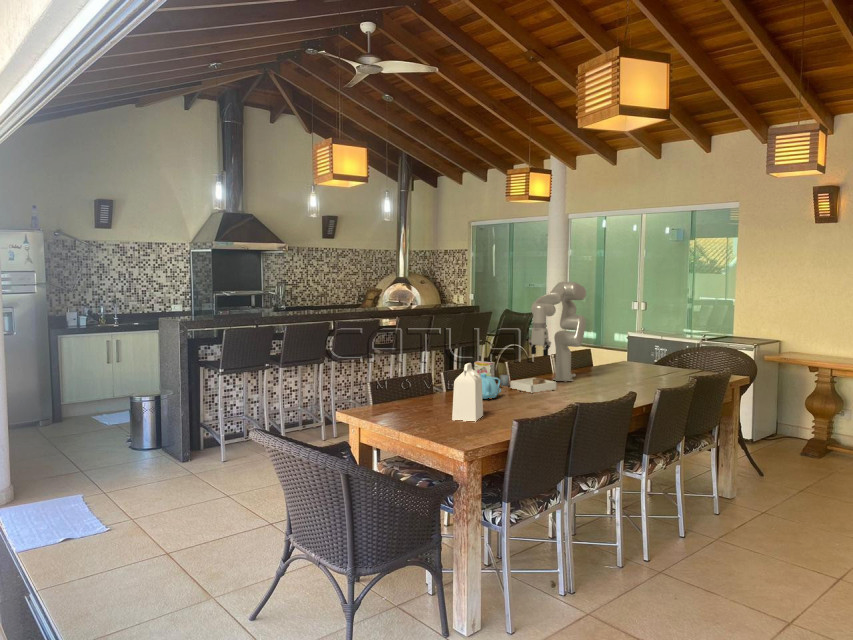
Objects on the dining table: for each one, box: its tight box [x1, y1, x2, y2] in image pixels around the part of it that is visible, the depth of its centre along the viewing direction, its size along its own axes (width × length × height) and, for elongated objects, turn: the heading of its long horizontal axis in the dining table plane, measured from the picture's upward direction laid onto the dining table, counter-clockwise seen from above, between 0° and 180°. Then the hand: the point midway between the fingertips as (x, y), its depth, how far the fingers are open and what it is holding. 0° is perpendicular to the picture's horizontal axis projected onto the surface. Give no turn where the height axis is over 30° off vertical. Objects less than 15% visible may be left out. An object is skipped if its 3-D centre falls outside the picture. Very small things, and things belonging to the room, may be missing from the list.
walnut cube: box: [533, 377, 546, 385], centre depth 379 cm, size 5×5×5 cm
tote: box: [509, 377, 558, 393], centre depth 376 cm, size 20×18×5 cm
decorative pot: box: [480, 373, 502, 400], centre depth 352 cm, size 16×16×14 cm
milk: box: [451, 362, 484, 423], centre depth 304 cm, size 12×12×26 cm
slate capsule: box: [499, 374, 510, 387], centre depth 386 cm, size 5×5×7 cm
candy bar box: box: [473, 360, 496, 378], centre depth 376 cm, size 11×5×16 cm, turn 58°
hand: (539, 355), depth 378 cm, fingers open, 9 cm apart
